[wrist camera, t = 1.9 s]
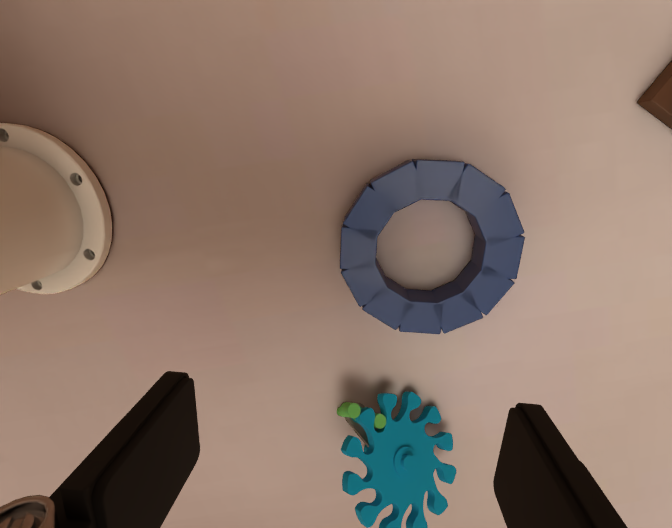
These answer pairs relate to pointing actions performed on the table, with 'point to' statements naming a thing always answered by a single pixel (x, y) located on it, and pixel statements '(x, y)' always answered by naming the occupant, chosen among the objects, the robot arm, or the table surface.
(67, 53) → the table surface
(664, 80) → the stand
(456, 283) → the ring
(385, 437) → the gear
